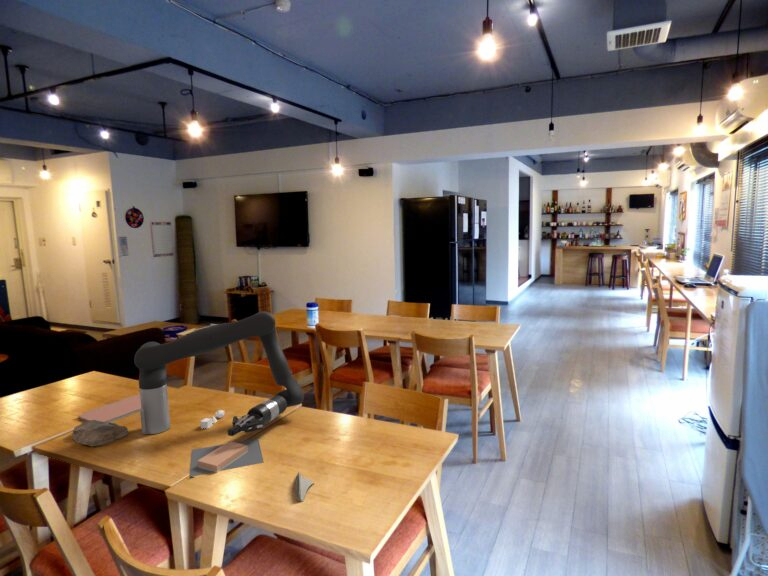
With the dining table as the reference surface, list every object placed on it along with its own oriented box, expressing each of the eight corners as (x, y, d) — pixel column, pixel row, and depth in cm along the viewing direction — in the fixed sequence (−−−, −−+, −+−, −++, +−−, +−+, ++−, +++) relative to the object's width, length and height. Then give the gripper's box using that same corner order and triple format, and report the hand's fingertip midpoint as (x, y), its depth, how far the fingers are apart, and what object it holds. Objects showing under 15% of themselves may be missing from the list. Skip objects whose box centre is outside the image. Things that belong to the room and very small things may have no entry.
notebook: (141, 396, 207) (141, 392, 207) (163, 403, 199) (163, 399, 198) (76, 419, 184) (75, 414, 184) (98, 428, 176) (97, 423, 175)
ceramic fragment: (296, 476, 139) (295, 465, 139) (313, 474, 140) (312, 463, 140) (296, 504, 126) (295, 492, 125) (314, 502, 127) (314, 489, 126)
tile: (248, 451, 153) (217, 472, 140) (229, 447, 156) (197, 467, 144) (247, 445, 153) (216, 465, 140) (229, 441, 156) (197, 460, 143)
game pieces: (208, 430, 172) (207, 422, 172) (200, 429, 173) (199, 421, 172) (226, 416, 184) (225, 408, 183) (219, 415, 184) (218, 408, 184)
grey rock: (63, 438, 168) (89, 450, 157) (62, 425, 167) (88, 437, 156) (103, 424, 179) (131, 435, 168) (102, 412, 179) (129, 423, 168)
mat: (189, 478, 138) (189, 476, 138) (191, 451, 155) (191, 449, 155) (263, 464, 146) (263, 462, 146) (258, 439, 163) (258, 438, 163)
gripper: (248, 400, 168) (213, 419, 153) (278, 406, 163) (244, 425, 147) (250, 420, 169) (215, 440, 154) (279, 426, 164) (246, 447, 148)
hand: (229, 433), depth 150 cm, fingers closed
